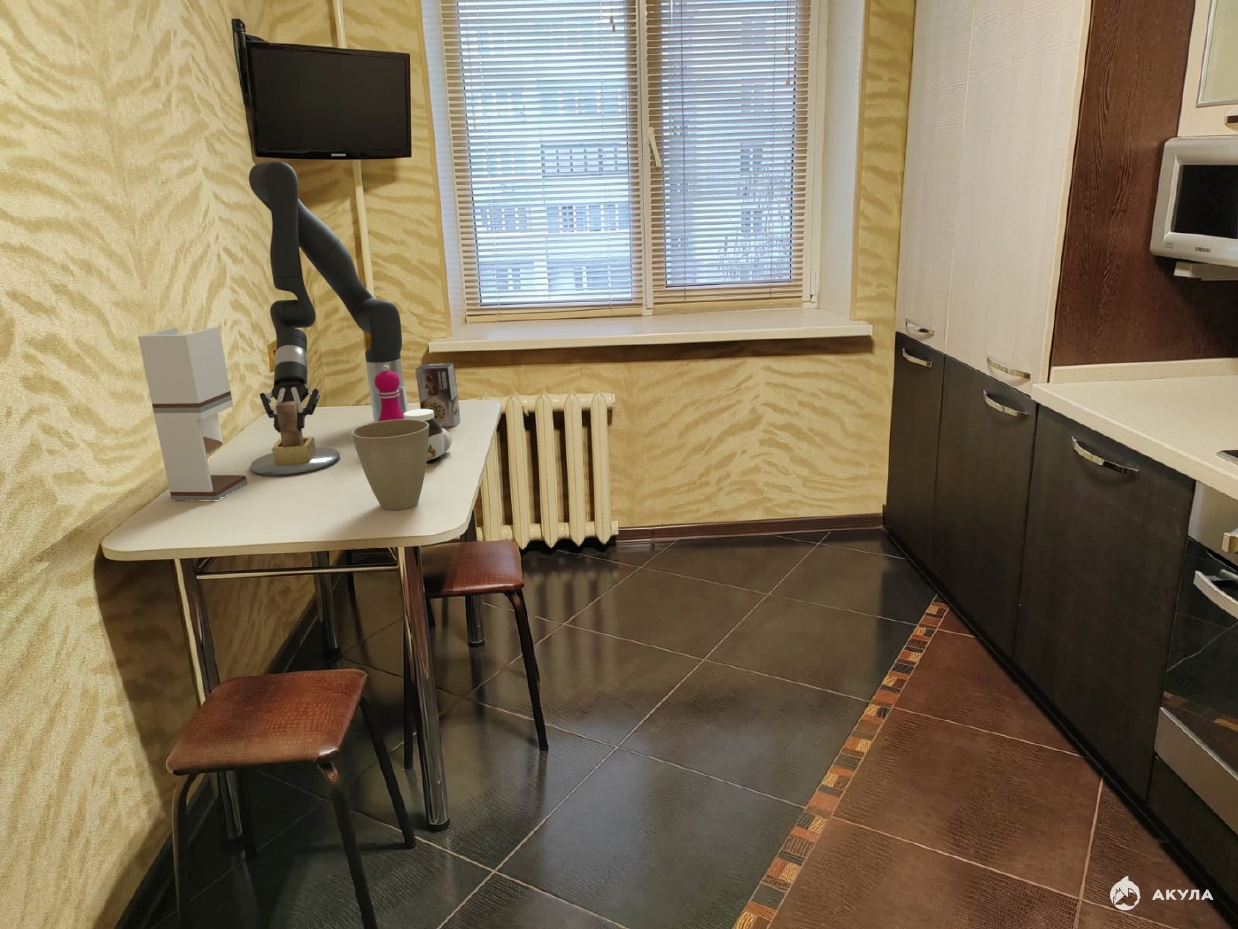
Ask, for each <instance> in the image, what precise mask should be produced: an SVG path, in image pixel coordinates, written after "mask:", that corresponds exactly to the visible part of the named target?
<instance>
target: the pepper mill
mask: <svg viewBox="0 0 1238 929" xmlns="http://www.w3.org/2000/svg"><path fill="white" fill-rule="evenodd" d="M382 370H383V372H380V373H378V374H377V376H376V377H375V386H376V387H377V388H378V389H379V392H378V394H379V398H381V404H382V409H381V414H380V418H379V421H378V422H380V421H387V420H397V419H404V414H403V413H402V411H401V409H400V406H399V402H398V396H399V390H398V389H397V388H398V386H399V384H400V379H399V377H398V375H397V374H396V373H395V372H392V371H389V366H388V365H383V366H382Z"/></svg>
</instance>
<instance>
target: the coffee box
mask: <svg viewBox="0 0 1238 929" xmlns="http://www.w3.org/2000/svg"><path fill="white" fill-rule="evenodd" d="M414 370H415V376H416V384H417V385H416V386H417V391H418V400H419V409H431V410H433V411H434V419H436V420H437V421H438V422H439V423H440V425H441V426H442V428H443V427H446V428H447V427H455V426H457V425H458V424H459V423H460V422H461V416H460V414H461V413H460V406H459V405H460V403H459V396H458V395H459V394H458V388H457V387H458V386H457V379H456V370H455V363H454V362H444V363H441V362H440V363H422V364H421V365H419V366H418V367H416V368H415V369H414Z"/></svg>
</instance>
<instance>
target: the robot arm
mask: <svg viewBox="0 0 1238 929" xmlns="http://www.w3.org/2000/svg"><path fill="white" fill-rule="evenodd" d="M248 182H249V186H250V189H251V191H252V192H253V194H254V195H255V196H256V198H258V199H259V200H260V202H261V203H262V204H264V206H265V207H266V208H267V209H268V210H269V211H270V214H271V223H272V224H271V226H272V227H271V229H272V230H271V237H270V238H271V239H270V245H269V246H270V248H269V260H270V268H271V276H272V281H273V285H274V286H273V287H274V288H275V289H276V290H279V291H283V292H289V293H292V294H293V295H294V296H295V297H296V299H278V300H276V301H274V302H273V303H272V304H271V306H270V309H269V315H270V318H271V321H272V324H273V327H274V331H275V336H276V347H275V348H276V350H275V351H276V352H275V357H274V370H273V375H274V376H273V388H272V389H271V392H268V393H265V392H260V393H259V397H260V400H261V402H262V405H263V407H264V408H263V409H264V410H265V413H266V415H267V417H268V418H269V419H273V428H274V430H275V431H277V434H279V433H280V426H279V422H278V416H277V410H276V405H277V404H278V403H279V402H285V401H297V410H298V414H297V425H296V426H297V429H298V431H302V432H303V429H305V419H306V416H308V415H309V416H312V415H313V414H314V412H315V409H316V407H317V405H318V404H319V401H320V398H321V394H320V391H319V389H317V388H314V389H310V388H309V387H308V370H309V365H308V363H309V362H308V353H307V352H308V337H307V334H306V333H305V332H304V331H303V330H300V329H306V328H310V327H312V326H313V325H314V324H315V322H316V309H315V307H314V305H313V303H312V300H311V298H310V296H309V294H308V291H307V288H306V285H305V282H304V276H303V275H304V274H303V269H302V268H303V267H302V260H301V254H300V253H301V251H302V252H303V254H304V255H305V257H306V258H307V259H308V260H309V262H310V263H311V264H312V265H313V267H314V268H315V269H316V271H317V272H318V273H319V274H320V275H321V277H322V278H323V279H324V280H325V281H326V283H327V284H328V286H330V288H331V289H332V290H333V292H335V293H336V296H338V298H340V300H341V302H342V303H343V305H344V306H345V308H346V310H347V311H348V312H349V314H350V316H351V318H352V319H353V320H354V322H355V324H356V326H357V327H358V328H360V329H361V330H362V331H363V332H365V333H367V334H370V346H369V348H367V349H366V350H365V354H364V356H365V365H366V373H367V379H368V387H369V394H370V402H371V410H372V416H373V423H374V422H378V421H379V418H380V414H381V409H382V404H381V398H379V394H378V392H379V389H378V388H377V387H376V386H375V377H376V376H377V374H378V373H380V372H383V370H382V366H383V365H388V366H389V371H392V372H395V373H396V374H397V375H398V377H399V379H400V384H399V386H398V388H397V389H398V390H399V396H398V402H399V406H400V409H401V411H402V413H403V414H404V413H405V412H407V411H409V407H408V396H407V389H406V384H405V382H404V375H403V374H404V372H403V367H402V365H403V364H402V363H403V362H402V356H401V351H402V347H403V338H402V337H403V336H402V334H403V333H402V322H401V316H400V312H399V309H398V307H397V306H396V304H394V303H393V302H391V301H389V300H384V299H377V298H375V297H374V296H373V295H372V294H371V293H370V292H369V290H368V289H367V288H366V287H365V286H364V284H363V283H362V282H361V280H360V278H359V275H358V274H357V270H356V265H355V263H354V260H353V258H352V255H351V254H350V252H349V250H348V248H347V247H346V246H345V245H344V243H343V242H342V241H341V239H340V237H338V235H337V234H336V233H335V232H334V231H333V230H332V229H331V228H330V227H329V226H328V225H327V224H326V223H324V222H323V221H322V220H321V219H320V218H319V217H317V216H316V215H315V214H314V213H312V212H311V211H310V210H309V209H308V208H307V207H306V206H305V205H304V204H303V202H302V201H301V199H299V179H298V175H297V173H296V171H295V169H294V168H293V167H292V166H291V165H289V164H288V163H287V162H283V161H277V160H275V161H274V160H273V161H264V162H263V161H262V162H259V163H256V164H255V165H253V166H252V167H251V169H250V170H249V174H248ZM300 249H301V251H300ZM307 397H309V399H308V401H307V403H306V405H305V407H304V406H303V401H304V400H305V399H306V398H307ZM272 398H274V399H275V400H276V402H275V408H274V409H272V407H271V405H270V404H271V402H272Z"/></svg>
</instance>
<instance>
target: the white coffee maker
mask: <svg viewBox="0 0 1238 929" xmlns="http://www.w3.org/2000/svg"><path fill="white" fill-rule="evenodd" d="M137 339H138V342H139V347H140V352H141V358H142V362H143V368H144V372H145V376H146V380H147V386H148V391H149V392H148V393H149V398H150V401H151V406H152V411H153V416H154V421H155V425H156V430H157V436H158V439H159V440H158V441H159V445H160V450H161V454H162V460H163V465H164V469H165V474H166V479H167V484H168V489H169V493H170V499H171V501H172V500H219V499H220V498H221V497H224V498H226V497H227V496H228V495H227V494H229V493H231V492H232V491H234V492H236V491H237V489H238V490H240V489H241V488H242V487H241V486H243V485H245V486H246V485H247V484H248V481H247V475H245V474H211V472H210V471H211V470H210V466H209V462H208V457H207V456H208V455H210V454H211V453H213V452H215V451H216V450H218V449H219V448H221V447H223V443H224V442H223V437H222V436H223V435H222V432H221V426H220V421H219V416H218V415H219V414H218V413H220V412H222V411H225V410H227V409H229V408H232V407H234V403H233V402H234V401H233V397H232V392H231V391H232V390H231V387H230V380H229V375H228V374H229V373H228V369H227V364H226V358H225V353H224V346H223V340H222V335H221V330H220V326H213V327H207V328H204V329H201V330H197V331H193V332H186V333H180V334H179V330H178V327H171V328H167V329H161V330H159V331H155V332H150V333H147V334H143V335H139V336H138V337H137ZM240 487H241V488H240ZM243 487H244V486H243ZM235 490H236V491H235ZM231 494H232V493H231ZM226 495H227V496H226ZM229 495H230V494H229ZM225 496H226V497H225ZM219 501H220V500H219Z"/></svg>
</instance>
